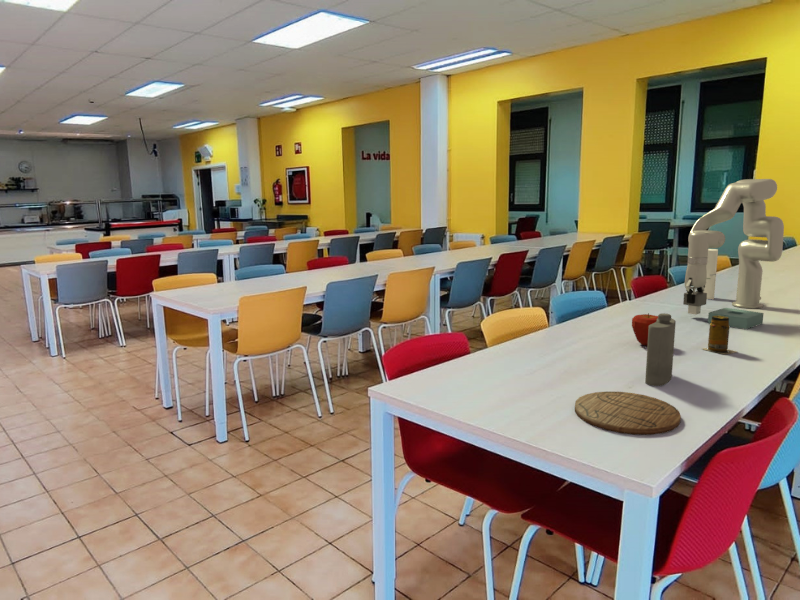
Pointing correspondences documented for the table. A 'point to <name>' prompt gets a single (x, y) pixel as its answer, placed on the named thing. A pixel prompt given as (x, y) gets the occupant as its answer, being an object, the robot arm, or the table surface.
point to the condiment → (719, 335)
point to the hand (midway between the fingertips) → (694, 301)
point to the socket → (738, 317)
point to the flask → (660, 350)
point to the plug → (696, 302)
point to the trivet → (627, 413)
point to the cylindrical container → (711, 273)
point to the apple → (642, 327)
